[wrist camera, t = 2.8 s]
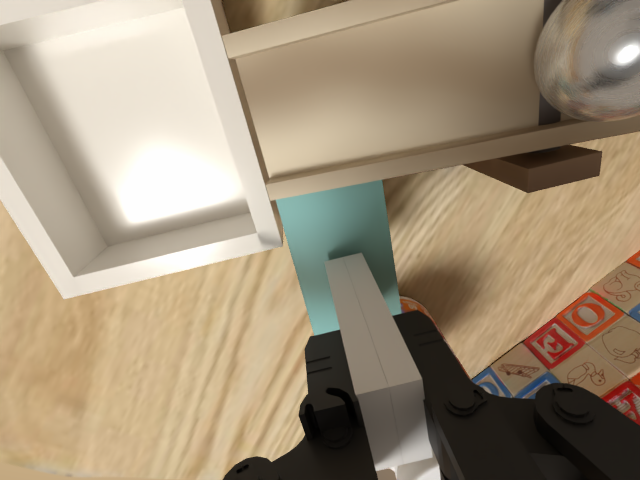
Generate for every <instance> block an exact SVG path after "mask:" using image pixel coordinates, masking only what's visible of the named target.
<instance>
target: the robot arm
mask: <svg viewBox="0 0 640 480" xmlns="http://www.w3.org/2000/svg"><path fill="white" fill-rule="evenodd" d="M324 263H325V267H326V271H327V276H328V280H329V284H330V289H331V293H332V297H333V301H334V306H335V310H336V314H337V319H338V323H339V327H340V330H336V331H331V332H327V333H323V334H319V335H315V336H311V337H310V338H309V340H308V343H307V345H306V347H305V359H306V371H307V384H308V394H307V395H306V397H305V398H304V400H303V402H302V403H301V405H300V410H299V418H300V421H301V423H302V426H303V429H304V432H305V436H304V438H303V440H302V441H301V442H300V443H299V444H298V445H297V446H296V447H295V448H294V449H292V450H291V451H290V452H288V453H286V454H285V455H283V456H281V457H280V458H278V459H276V460H275V461H273V462H271V461H269V460H268V459H267V458H262V457H258V456H257V457H252V458H247V459H245V460H243V461H241V462H239V463H238V464H236V465H235V466H234V467H233V468H232V469H231V470H230V471H229V472H228V473H227V474H226V475H225V477H224V479H223V480H378V478H377V473H376V471H378V470H382V469H387V468H391V467H395V466H399V465H403V464H407V463H412V462H416V461H420V460H424V459H428V458H432V457H433V456H432V449H433V452H434V454H435V457H436V459H437V462H438V464H439V470H440V478H441V480H640V425H638V424H637V423H635V422H634V421H633V420H631V419H630V418H628V417H627V416H625V415H624V414H623V413H621V412H620V411H618V410H617V409H616V408H614V407H613V406H611V405H610V404H608V403H607V402H606V401H604V400H603V399H601V398H600V397H599V396H597V395H595V394H594V393H592V392H590V391H588V390H586V389H584V388H583V387H579V386H576V385H572V384H569V383H552V384H548V385H545V386H543V387H542V388H540V389H539V390H538V391H537V392H536V396H535V399H527V398H508V397H501V396H497V395H493V394H490V393H488V392H486V391H485V390H484V389H483V388H482V387H480V386H479V385H477V384H475V383H473V382H472V381H471V380H470V379H469V377H468V376H467V374H466V373H465V371H464V370H463V368H462V367H461V365H460V363H459V362H458V360H457V359H456V357H455V356H454V354H453V353H452V351H451V349H450V348H449V346H448V345H447V343H446V342H445V341H444V339H443V337H442V336H441V334H440V332H439V331H438V330H437V328H436V326H435V325H434V323H433V322H432V320H431V318H430V317H428V316H427V315H425V314H424V313H422V312H420V311H419V310H414V311H410V312H406V313H401V314H397V315H393V316H392V315H391V313H390V311H389V308H388V306H387V304H386V302H385V300H384V298H383V296H382V294H381V292H380V290H379V288H378V285H377V283H376V281H375V279H374V277H373V275H372V273H371V271H370V269H369V267H368V265H367V263H366V260H365V258H364V256H363V254H362V253H358V254H354V255H349V256H345V257H341V258H337V259H333V260H329V261H325V262H324ZM431 447H432V448H431Z"/></svg>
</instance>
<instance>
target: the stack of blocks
mask: <svg viewBox="0 0 640 480" xmlns="http://www.w3.org/2000/svg"><path fill="white" fill-rule="evenodd" d="M472 382H473V383H475V384H477V385H479V386H480V387H482V388H483V389H484V390H485V391H486V392H488V393H490V394H493V395H497V396H501V397H508V398H527V399H535V396H536V392H537V391H538V390H539V389H540V388H542V387H543V386H545V385H548V384H552V383H569V384H572V385H576V386H579V387H583V388H584V389H586V390H588V391H590V392H592V393H594V394H595V395H597V396H599V397H600V398H601V399H603V400H604V401H606V402H607V403H608V404H610V405H611V406H613V407H614V408H616V409H617V410H618V411H620V412H621V413H623V414H624V415H625V416H627V417H628V418H630V419H631V420H633V421H634V422H635V423H637V424H638V425H640V251H638V252H637V253H636V254H634V255H633V256H632V257H630V258H629V259H628V260H627V261H626V262H624V263H622V264H621V265H620V266H618V267H617V268H616V269H614V270H613V271H612V272H610V273H609V274H608V275H606V276H605V277H604V278H602V279H601V280H600V281H599V282H597V283H596V284H595V285H593V286H592V287H591V288H590V290H589V291H588V292H587V293H585V294H583V295H582V296H581V297H580V298H579V299H577V300H576V301H575V302H574V303H572V304H571V305H569V306H568V307H567V308H566V309H564V310H563V311H562V312H560V313H559V314H558V315H557V316H556V317H555V318H554V319H552V320H551V321H549V322H548V323H547V324H545V325H544V326H543V327H541V328H540V329H539V330H537V331H536V332H535V333H534V334H532V335H531V336H530V337H528V338H527V339H526V340H525V341H524V342H523V343H520V344H518V345H517V346H516V347H514V348H513V349H512V350H511V351H509V352H508V353H507V354H505V355H504V356H503V357H501V358H500V359H499V360H497V361H496V362H495V363H493V364H492V365H491V366H490V367H488V368H487V369H485V370H484V371H483V372H482V373H480V374H479V375H477V376H476V377H475V378H474V379H472Z"/></svg>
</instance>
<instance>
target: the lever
mask: <svg viewBox="0 0 640 480" xmlns="http://www.w3.org/2000/svg"><path fill="white" fill-rule="evenodd" d="M561 1H562V0H350V1H347V2H343V3H339V4H336V5H332V6H328V7H325V8H321V9H318V10H314V11H310V12H307V13H303V14H299V15H296V16H292V17H288V18H285V19H281V20H277V21H274V22H270V23H267V24H263V25H259V26H256V27H252V28H248V29H245V30H241V31H237V32H234V33H230V34H227V35H223V36H222V38H223V42H224V45H225V49H226V52H227V55H228V58H230V59H235V60H236V64H237V67H238V71H239V74H240V78H241V81H242V85H243V88H244V91H245V95H246V98H247V102H248V105H249V109H250V112H251V116H252V119H253V123H254V126H255V130H256V133H257V137H258V140H259V144H260V147H261V151H262V154H263V158H264V161H265V165H266V168H267V172H268V175H269V181H268V182H267V183H266V188H267V192H268V195H269V198H270V201H271V200H276V203H277V207H278V210H279V214H280V217H281V221H282V224H283V228H284V231H285V235H286V238H287V242H288V245H289V248H290V252H291V255H292V259H293V262H294V266H295V269H296V273H297V276H298V280H299V283H300V287H301V290H302V294H303V297H304V301H305V304H306V308H307V311H308V315H309V318H310V322H311V325H312V329H313V332H314V336H315V335H319V334H323V333H327V332H331V331H336V330H340V327H339V323H338V319H337V314H336V310H335V306H334V301H333V297H332V293H331V289H330V284H329V280H328V276H327V271H326V267H325V263H324V262H325V261H329V260H333V259H337V258H341V257H345V256H349V255H354V254H358V253H362V254H363V256H364V258H365V260H366V263H367V265H368V267H369V269H370V271H371V273H372V275H373V277H374V279H375V281H376V283H377V285H378V288H379V290H380V292H381V294H382V296H383V298H384V300H385V302H386V304H387V306H388V308H389V311H390V313H391V315H392V316H393V315H397V314H401V313H402V312H401V306H400V299H399V292H398V285H397V278H396V271H395V265H394V258H393V251H392V244H391V237H390V231H389V224H388V217H387V210H386V203H385V196H384V190H383V183H382V180H383V179H388V178H394V177H399V176H404V175H410V174H415V173H420V172H425V171H431V170H436V169H441V168H447V167H452V166H457V165H463V164H468V163H473V162H479V161H484V160H489V159H495V158H500V157H505V156H510V155H516V154H521V153H544V152H550V151H554V150H557V149H560V148H561V146H564V145H569V144H574V143H579V142H585V141H590V140H595V139H601V138H606V137H611V136H617V135H622V134H627V133H633V132H638V131H640V115H637V116H635V117H631V118H627V119H623V120H617V121H608V122H593V121H584V120H578V119H575V118H572V117H569V116H567V115H565V114H563V113H561V112H559V111H558V110H556V109H555V108H553V107H552V106H551V105H550V104H549V103H548V102H547V101H546V99H545V98H544V97H543V96H542V94H541V92H540V90H539V88H538V85H537V82H536V79H535V73H534V56H535V50H536V46H537V42H538V39H539V37H540V34H541V32H542V30H543V28H544V26H545V24H546V22H547V20H548V19H549V17H550V16H551V14H552V12H553V11H554V10H555V9H556V7H557V6H558V5H559V4H560V2H561Z"/></svg>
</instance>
